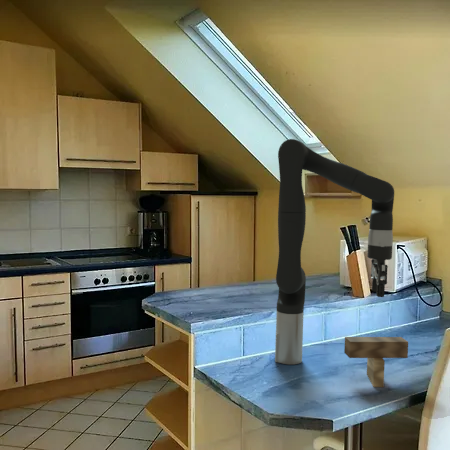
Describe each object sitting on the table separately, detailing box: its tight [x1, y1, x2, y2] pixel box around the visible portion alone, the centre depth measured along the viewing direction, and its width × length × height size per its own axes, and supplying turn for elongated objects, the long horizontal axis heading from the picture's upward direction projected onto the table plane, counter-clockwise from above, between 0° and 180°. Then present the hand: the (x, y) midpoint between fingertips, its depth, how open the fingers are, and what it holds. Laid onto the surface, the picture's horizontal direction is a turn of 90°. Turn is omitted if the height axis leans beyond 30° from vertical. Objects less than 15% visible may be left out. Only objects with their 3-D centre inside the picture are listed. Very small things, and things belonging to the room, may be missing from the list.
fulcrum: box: [366, 358, 385, 388], centre depth 148 cm, size 3×10×8 cm, turn 174°
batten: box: [343, 336, 409, 359], centre depth 148 cm, size 18×5×5 cm, turn 94°
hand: (377, 294), depth 155 cm, fingers open, 8 cm apart
